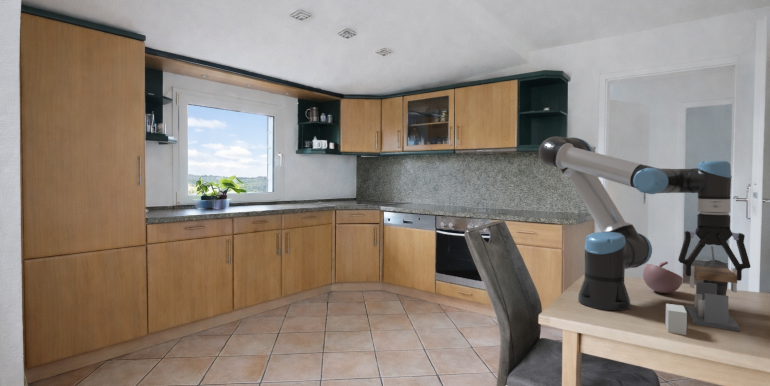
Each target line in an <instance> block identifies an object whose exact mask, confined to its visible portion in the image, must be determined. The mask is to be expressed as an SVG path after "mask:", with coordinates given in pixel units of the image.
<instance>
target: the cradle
mask: <svg viewBox="0 0 770 386" xmlns="http://www.w3.org/2000/svg"><path fill="white" fill-rule="evenodd" d="M695 283H696V284H695V285H696V286H695V293H694V305H689V304H685V310H686V312H687V315H689V318H690V320H691V322H692V324H693V325H696V326H701V327H702V326H703V327H709V328H716V329H723V330H729V331H737V332H740V330H741V327H740V326H739V324H737V322H736V321H735V319H733V317H732V316H731V315H730V313H729V305H730V303H729V296H728V295H726V296H725V295H717V284H714V283H704V282H702V281H696V282H695Z"/></svg>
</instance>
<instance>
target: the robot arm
mask: <svg viewBox="0 0 770 386" xmlns="http://www.w3.org/2000/svg"><path fill="white" fill-rule="evenodd" d="M538 155H539V159H540V161H541V162H542V163H543V164H544V165H546V166H549V167H554V168H557V169H560V171H561V173H562V174H563V176H564V177H566V178H570V181H571V182H572V183H573V185H574V188H575V189H576V191H577V192H578V194H579V196H580V198H581V200H582V201H583V203H584V204H585V206H586V208H587V210H588V212H589V213H590V215H591V217H592V218H593V220H594V222H595V224H596V226H597V228H598V230H599V231H598V232H597V231H596V232H592V233H590V234H587V236H586V237H585V242H584V279H583V281H582V284H581V287H580V290H579V291H578V297H577V298H578V302H579V303H580V304H582V305H584V306H587V307H589V308H594V309H599V310H604V311H605V310H606V311H626V310H629V309H630V308H631V298H630V296H629V294H628V290H627V287H626V284H625V270H627V269H634V268H635V269H636V268H639V267H640V266H643V265H645V264H646V263H648V262H649V260H651V257H652V255H653V246H652V244H651V243H652V242H651V241H650V240H649V239H648V238H647V237H646V235H643V234H642V233H639V232H638V231H637V230H636V228H635V226H634V225H633V224H632V223H630V222H626V221H625V218H624V217H623V216H622V214H621V213H620V210H619V209H618V208H617V206H616V204H615V203H614V200H613V199H612V198H611V196H610V194H609V193H608V191H607V190H606V188H605V186H604V185H603V183H602V181H601V180H600V178H601V179H604V180H608V181H611V182H615V183H618V184H621V185H625V186H628V187H632V188H634V189H636V190H637V191H639V192H640V193H643V194H649V195H655V194H656V195H657V194H673V193H674V194H676V193H677V194H687V193H688V194H690V193H691V194H697V212H698V214H697V215H696V216H697V221H696V225H697V227H696V229H695V230H684V232H683V234H684V235H683V236H684V239H683V243H682V247H681V249H680V251H679V252H680V253H679V256H678V258H677V259H678V260H677V261H678V262H679V263H681V264H684V265H685V275H686V277H689V287H690V289H695V277H694V266H695V265H693V263H694V261H696V258H698V256H699V254H700V253H701V251H702V250H703V248H704V247H705V246H706V245H708V246H713V245H715V246H721V247H722V249H723V250H724V251H725V253H726V255H727V257H728V258H729V260H730V262H731V263H732V265H733V266H734V267H731V268H730V269H731V270H730V271H732V272H733V273H734V274H735V275H737V283H730V291H731V292H733V293H737V289H738V285H737V284H738V282H739V281H742V277H743V273H742V272H743V270H744V269H750V268H751V262H750V259H749V256H748V252H747V249H746V245H745V243H744V242H745V234H744V233H741V232H733V231H732V230H731V215H730V213H731V194H732V193H731V189H732V177H733V176H732V169H731V168H732V167H731V163H730V162H729V161H726V160H711V161H709V160H706V161H700V162H699V163H698V165H697V167H695V168H660V167H659V168H658V167H654V166H649V165H645V164H642V163H638V162H634V161H630V160H626V159H621V158H619V157H613V156H610V155H605V154H603V153H602V154H601V153H598V152H594V151H593V149H592V146H591V145H590V144H589V143H588V142H587V141H586V140H584V139H582V138H578V137H566V136H551V137H548V138H546V139H545V140H543V141H542V143H540V145H539V149H538ZM695 235H696V236H697V237H698V239H699V240H698V242H697V244H696V246H695V247H694V249H692V251H691V253H690V254H689V255H688V257H687V253H688V251H689V247H690V244H691V241H692V239H693V238H694V236H695ZM731 237H733V240H734V241H735V242H736V246H737V250H738V252H739V257H740V260H741V263H740V262H739V260H738V257H736V255H735V254H734V252H733V250H732V249H731V247H730V245H729V243H728V240H729V239H731ZM686 257H687V259H686Z"/></svg>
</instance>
